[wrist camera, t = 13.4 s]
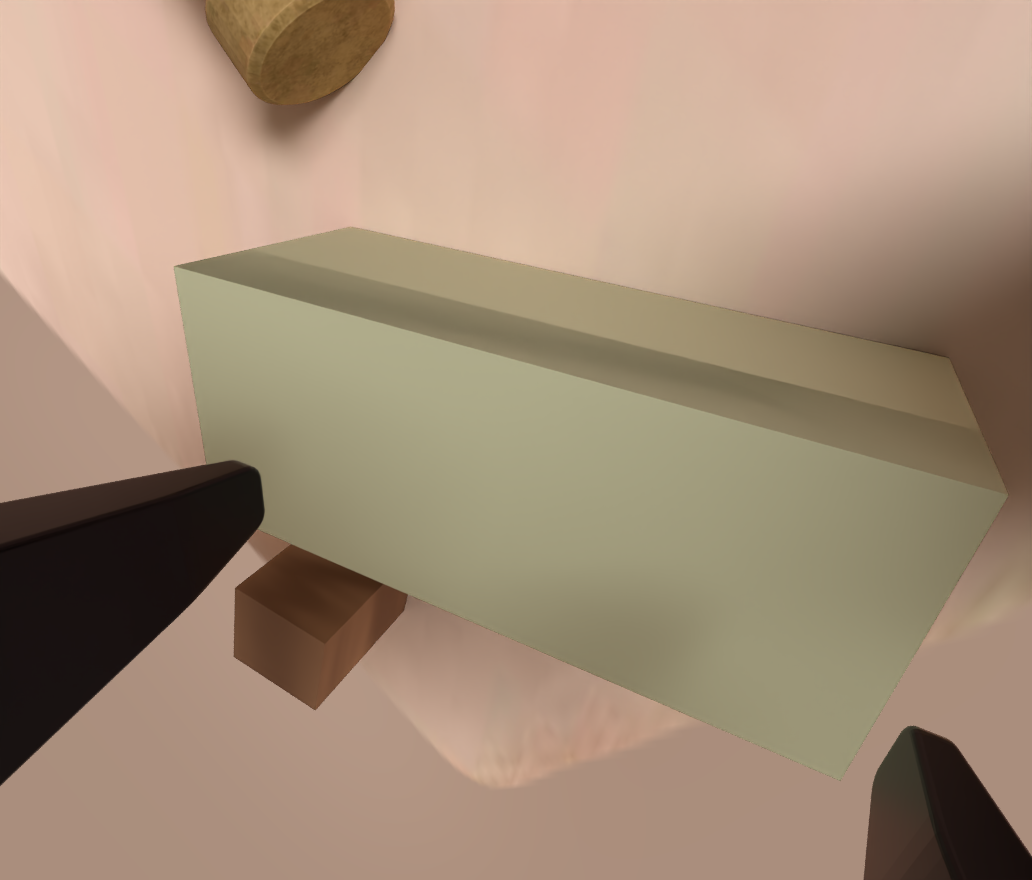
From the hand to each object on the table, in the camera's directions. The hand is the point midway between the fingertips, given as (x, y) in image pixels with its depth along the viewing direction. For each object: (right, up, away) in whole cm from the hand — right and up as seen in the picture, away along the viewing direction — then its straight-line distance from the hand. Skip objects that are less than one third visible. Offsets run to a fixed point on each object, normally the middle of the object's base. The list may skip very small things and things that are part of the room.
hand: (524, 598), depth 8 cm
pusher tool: (-5, +1, +17) cm, 18 cm away
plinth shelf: (+2, +3, +12) cm, 13 cm away
